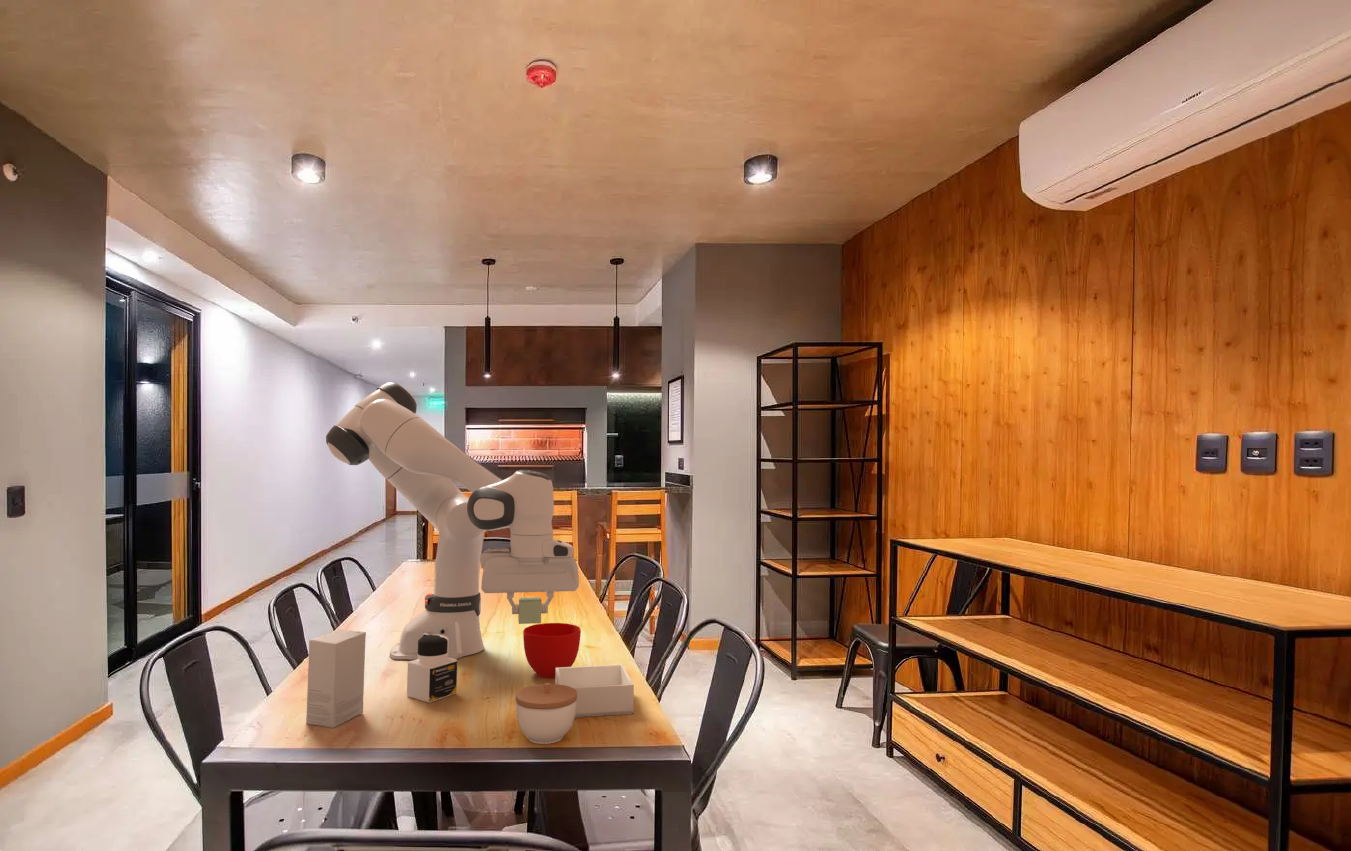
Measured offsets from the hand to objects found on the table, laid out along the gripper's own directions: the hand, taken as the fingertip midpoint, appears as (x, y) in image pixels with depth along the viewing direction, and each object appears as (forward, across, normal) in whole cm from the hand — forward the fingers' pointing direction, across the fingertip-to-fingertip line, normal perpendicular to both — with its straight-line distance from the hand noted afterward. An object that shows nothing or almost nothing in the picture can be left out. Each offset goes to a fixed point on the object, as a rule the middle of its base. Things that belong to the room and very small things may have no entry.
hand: (529, 613), depth 153 cm
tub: (+16, +12, -9) cm, 23 cm away
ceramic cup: (+17, +6, +15) cm, 23 cm away
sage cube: (+2, 0, 0) cm, 2 cm away
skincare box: (+17, -35, -9) cm, 40 cm away
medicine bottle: (+17, -19, +2) cm, 26 cm away
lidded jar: (+17, +2, -25) cm, 30 cm away
